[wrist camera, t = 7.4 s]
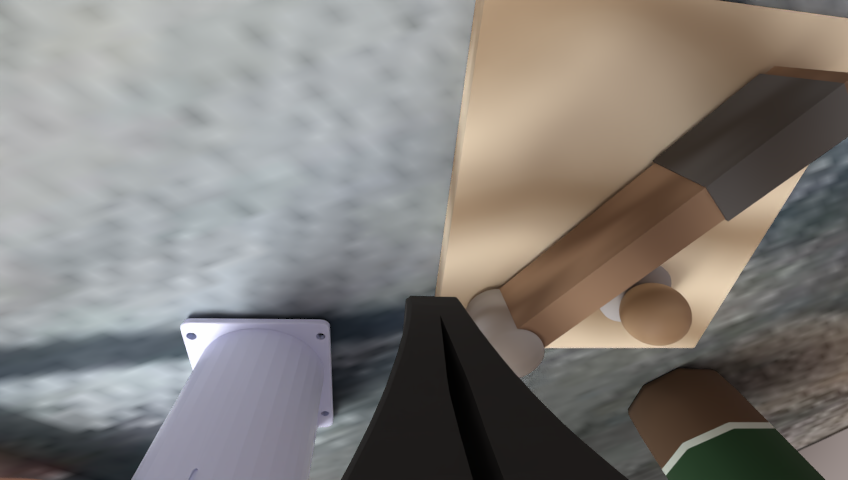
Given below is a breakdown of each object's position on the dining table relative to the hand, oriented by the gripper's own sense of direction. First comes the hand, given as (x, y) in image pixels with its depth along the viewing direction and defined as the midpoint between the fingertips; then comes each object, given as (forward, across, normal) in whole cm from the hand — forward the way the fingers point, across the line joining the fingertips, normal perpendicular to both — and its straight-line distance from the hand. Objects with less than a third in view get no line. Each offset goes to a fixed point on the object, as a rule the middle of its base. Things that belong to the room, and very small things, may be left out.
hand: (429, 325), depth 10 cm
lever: (+8, -10, 0) cm, 12 cm away
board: (+9, -10, 0) cm, 14 cm away
